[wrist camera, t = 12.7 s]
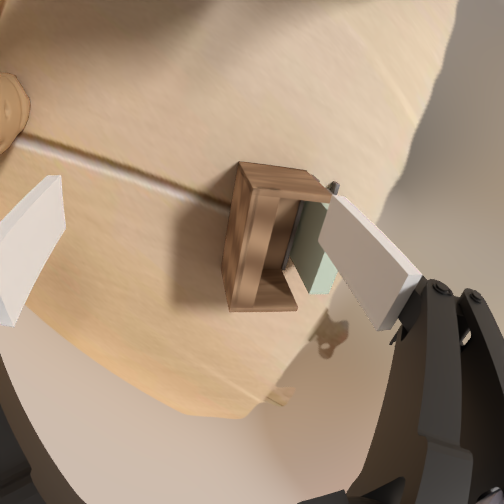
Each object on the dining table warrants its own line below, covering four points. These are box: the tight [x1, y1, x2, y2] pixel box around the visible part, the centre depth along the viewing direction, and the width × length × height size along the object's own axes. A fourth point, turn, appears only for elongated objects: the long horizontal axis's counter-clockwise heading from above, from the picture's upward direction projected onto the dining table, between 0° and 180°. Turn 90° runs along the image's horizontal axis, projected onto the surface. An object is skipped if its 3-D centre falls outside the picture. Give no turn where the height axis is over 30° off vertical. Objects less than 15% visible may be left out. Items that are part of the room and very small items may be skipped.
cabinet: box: [221, 161, 340, 312], centre depth 42 cm, size 18×16×10 cm
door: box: [289, 201, 338, 294], centre depth 43 cm, size 12×3×10 cm, turn 170°
